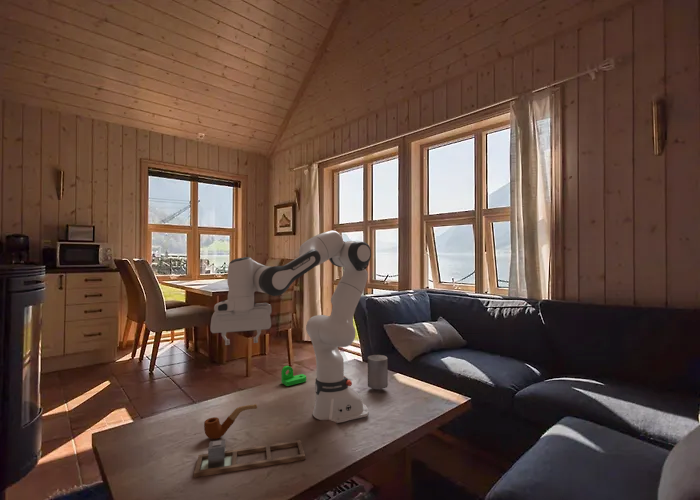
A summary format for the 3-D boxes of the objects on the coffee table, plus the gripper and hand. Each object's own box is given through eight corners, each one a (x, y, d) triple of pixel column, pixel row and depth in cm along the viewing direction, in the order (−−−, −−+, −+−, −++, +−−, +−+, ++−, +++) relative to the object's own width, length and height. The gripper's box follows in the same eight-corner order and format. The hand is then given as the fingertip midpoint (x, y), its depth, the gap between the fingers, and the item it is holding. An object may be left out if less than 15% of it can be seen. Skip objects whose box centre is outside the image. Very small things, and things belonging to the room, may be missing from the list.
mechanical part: (287, 386, 176) (286, 369, 176) (281, 382, 180) (281, 366, 181) (308, 380, 183) (308, 364, 183) (302, 377, 188) (302, 362, 188)
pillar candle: (368, 382, 180) (368, 351, 180) (388, 382, 179) (388, 352, 179) (366, 389, 170) (366, 357, 170) (387, 390, 169) (387, 357, 169)
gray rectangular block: (225, 458, 112) (225, 438, 112) (224, 467, 108) (224, 445, 108) (209, 461, 111) (209, 440, 111) (208, 469, 107) (208, 448, 107)
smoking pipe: (209, 446, 122) (207, 439, 127) (261, 419, 130) (258, 414, 135) (202, 426, 121) (201, 420, 127) (255, 400, 129) (252, 396, 134)
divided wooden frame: (300, 443, 121) (300, 440, 121) (305, 459, 112) (305, 455, 112) (198, 458, 113) (198, 455, 113) (194, 477, 103) (194, 473, 103)
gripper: (271, 301, 132) (271, 339, 132) (211, 304, 127) (211, 344, 126) (272, 303, 126) (272, 343, 126) (209, 306, 121) (210, 348, 120)
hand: (241, 343), depth 126 cm, fingers open, 8 cm apart
